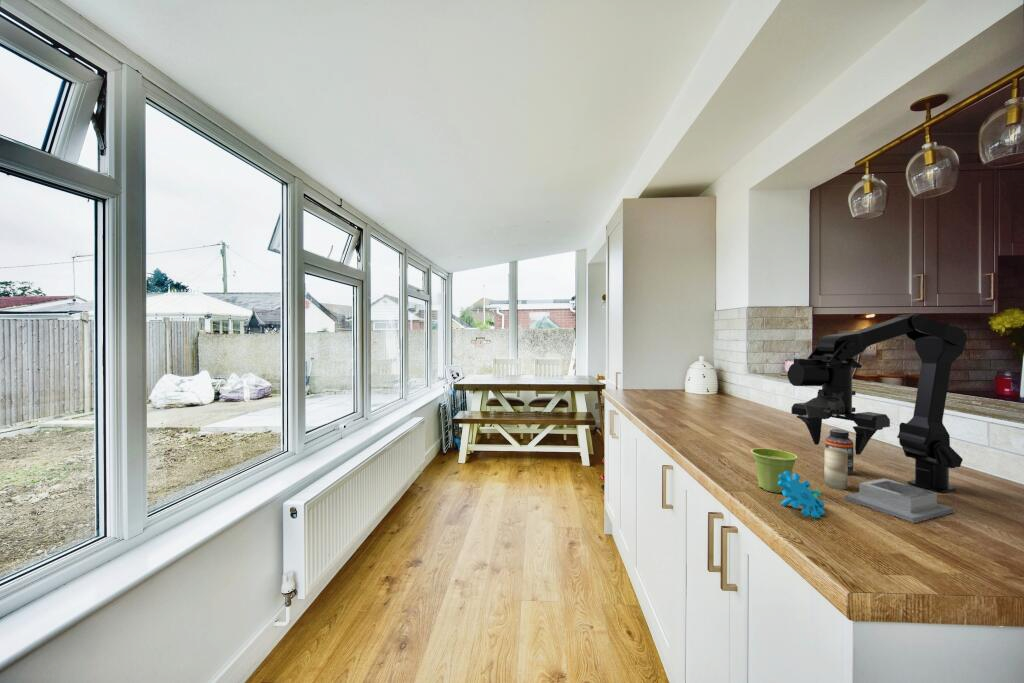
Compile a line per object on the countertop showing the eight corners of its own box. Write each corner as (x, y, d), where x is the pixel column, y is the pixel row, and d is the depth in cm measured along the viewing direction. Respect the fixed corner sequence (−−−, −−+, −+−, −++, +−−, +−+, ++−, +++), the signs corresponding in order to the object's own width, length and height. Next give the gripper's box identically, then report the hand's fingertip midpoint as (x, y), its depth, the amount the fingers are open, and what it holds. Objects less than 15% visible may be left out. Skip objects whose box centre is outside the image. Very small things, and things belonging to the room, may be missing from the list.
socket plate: (883, 491, 94) (883, 487, 94) (953, 512, 82) (953, 508, 82) (844, 499, 89) (844, 495, 89) (912, 523, 78) (912, 518, 78)
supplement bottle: (828, 466, 112) (828, 426, 112) (855, 472, 108) (855, 430, 107) (822, 471, 108) (822, 430, 108) (850, 476, 104) (851, 434, 104)
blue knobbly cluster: (803, 516, 77) (773, 468, 84) (780, 527, 81) (753, 481, 88) (841, 515, 81) (809, 470, 88) (817, 527, 85) (788, 482, 92)
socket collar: (884, 491, 91) (884, 478, 91) (936, 506, 83) (936, 492, 83) (859, 496, 88) (859, 483, 88) (910, 513, 80) (911, 498, 80)
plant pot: (753, 479, 102) (754, 445, 102) (798, 487, 96) (798, 452, 96) (747, 489, 95) (747, 453, 95) (795, 500, 89) (796, 461, 89)
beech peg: (831, 482, 100) (832, 447, 100) (851, 488, 96) (852, 451, 96) (820, 484, 98) (820, 448, 98) (839, 490, 94) (840, 453, 94)
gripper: (776, 383, 103) (776, 442, 103) (859, 392, 85) (859, 464, 85) (806, 381, 107) (805, 439, 107) (891, 390, 89) (891, 458, 89)
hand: (836, 449), depth 97 cm, fingers open, 9 cm apart
